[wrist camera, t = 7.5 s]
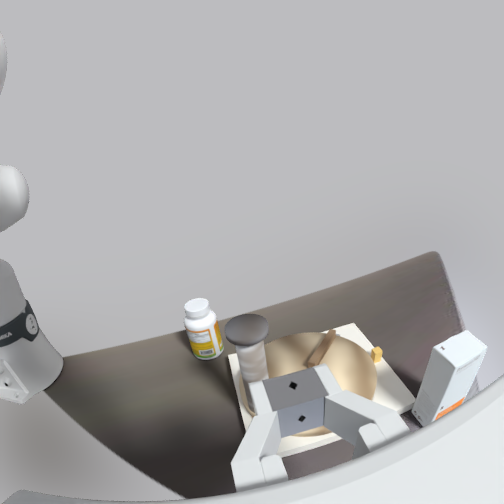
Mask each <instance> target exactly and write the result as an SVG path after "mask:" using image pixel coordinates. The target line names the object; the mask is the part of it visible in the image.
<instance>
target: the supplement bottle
mask: <svg viewBox="0 0 504 504" xmlns="http://www.w3.org/2000/svg"><path fill="white" fill-rule="evenodd" d="M184 309H185V313H186V317H185V319H184V324H185V328H186V331H187V334H188V338H189V341H190V344H191V347H192V350H193V353H194V355H195V356H196V357H197V358H199V359H202V360H210V359H214V358H216V357H218V356H219V355H220V354H221V353H222V351H223V343H222V339H221V334H220V330H219V326H218V322H217V318H216V315H215V313H214V312H213V311H212V310H210V306H209V302H208V301H207V300H206V299H203V298H196V299H193V300H190V301H189V302H187V303H186V304H185V306H184Z"/></svg>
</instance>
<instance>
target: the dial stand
mask: <svg viewBox="0 0 504 504" xmlns="http://www.w3.org/2000/svg"><path fill="white" fill-rule="evenodd" d="M333 330H336V335H337V336H341V337H344V338H346V339H349V340H351V341H353V342H355V343H356V344H358V345H359V346H361V347H362V348H363V349H364V350H365V351H366V352H367V353H368V354H369V355H370V357H371V358H372V360H373V362H374V364H375V367H376V371H377V384H376V389H375V393H374V397H373V399H372V401H373V402H376V403H378V404H381V405H383V406H385V407H388V408H390V409H393V410H395V411H397V413H398V414H399V415H400V414H402V413H404V412H406V411H408V410H410V409H412V408H413V406H414V403H415V400H416V399H415V397H414V396H413V395H412V394H411V392H410V391H409V390H408V389H407V387H406V386H405V385H404V384H403V382H402V381H401V380H400V379H399V377H398V376H397V375H396V374H395V372H394V371H393V370H392V369H391V368H390V366H389V365H388V364H387V363H386V361H385V360H384V359H383V358H382V350H381V349H380V348H379V347H376V348H374V347H373V346H372V344H371V343H370V342H369V341H368V340H367V338H366V337H365V336H364V335H363V334H362V332H361V331H360V330H359V329H358V328H357V326H356V325H355V324H354V323H352V324H348V325H345V326H342V327H338V328H335V329H333ZM328 331H329V330H328ZM328 331H324V332H321V333H328ZM228 357H229V362H230V366H231V371H232V375H233V379H234V384H235V388H236V392H237V397H238V401H239V405H240V409H241V414H242V418H243V422H244V426H245V430H246V431H247V429H248V427H249V425H250V423H251V421H252V419H253V417H252V416H251V415H250V414H249V413H248V411H247V410H246V408H245V406H244V404H243V401H242V398H241V394H240V388H239V378H240V374H241V371H240V366H239V362H238V357H237V353H236V354H231V355H228ZM340 439H343V438H341V437H339V436H338V435H336V434H335V433H333V432H332V433H329V434H325V435H320V436H313V437H298V436H287V437H284V438H281V442H280V445H279V448H278V451H277V454H276V455H279V456H281V458H282V457H286V456H289V455H293V454H296V453H300V452H303V451H307V450H310V449H313V448H316V447H319V446H322V445H325V444H328V443H331V442H334V441H337V440H340Z"/></svg>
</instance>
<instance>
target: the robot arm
mask: <svg viewBox="0 0 504 504" xmlns="http://www.w3.org/2000/svg"><path fill="white" fill-rule="evenodd" d="M6 70H7V52H6V46H5V42H4V39H3V36H2V34H1V32H0V94H1V91H2V88H3V85H4V81H5V76H6ZM28 203H29V189H28V184H27V182H26V179H25V177H24V176H23V174H22V173H21V172H20V171H19V170H18V169H17V168H15V167H13V166H7V165H1V164H0V232H2V231H4V230H5V229H7V228H8V227H10V226H11V225H13V224H14V223H16V222H17V221H19V220H20V219H21V218H23V217H24V216H25V213H26V211H27V208H28ZM62 367H63V358H62V356H61V355H60V354H59V353H58V352H57V351H56V350H55V349H54V347H53V346H52V345H51V344H50V342H49V341H48V340H47V339H46V337H45V335H44V334H43V333H42V331H41V330H40V328H39V326H38V323H37V320H36V317H35V315H34V313H33V310H32V308H31V306H30V304H29V302H28V301H27V300H26V299H25V298H24V296H23V293H22V291H21V288H20V286H19V283H18V281H17V278H16V276H15V273H14V270H13V268H12V267H11V266H10V264H9V263H7V262H6V261H4V260H2V259H0V399H2V400H6V401H10V402H14V403H17V404H24V403H26V402H27V401H28V400H29V399H30V398H31V397H32V396H34V395H35V394H37V393H39V392H41V391H42V390H44V389H46V388H47V387H48V386H50V385H51V384H52V383H53V382H54V381H55V380H56V378H57V377H58V376H59V374H60V372H61V370H62ZM249 389H250V394H251V398H252V403H253V407H254V411H255V415H256V416H254V417H253V419H252V421H251V423H250V425H249V427H248V429H247V431H246V433H245V436H244V438H243V440H242V442H241V444H240V446H239V448H238V450H237V452H236V454H235V456H234V458H233V460H232V462H231V466H232V471H233V477H234V481H235V486H236V491H237V493H231V494H225V495H218V496H211V497H203V498H194V499H184V500H170V501H148V502H147V501H146V502H125V501H123V502H122V501H101V500H88V499H77V498H69V497H61V496H55V495H48V494H43V493H38V492H33V491H27V490H19V491H17V492H15V493H14V494H13V495H11V496H10V497H9V498H8V499H7V500H5V501H4V502H3V503H2V504H504V374H503V375H502V376H501V377H499V378H498V379H497V380H495V381H494V382H493V383H491V384H490V385H489V386H487V387H486V388H484V389H483V390H482V391H480V392H479V393H477V394H476V395H474V396H473V397H472V398H470V399H469V400H467V401H466V402H464V403H463V404H461V405H459V406H458V407H456V408H455V409H453V410H452V411H450V412H448V413H447V414H445V415H443V416H442V417H440V418H438V419H437V420H435V421H433V422H431V423H429V424H428V425H426V426H424V427H422V428H420V429H419V430H417V431H415V432H413V433H412V432H411V431H410V429H409V428H408V427H407V425H406V424H405V422H404V421H403V420H402V418H401V417H400V415H399V414H398V413H397V411H395V410H393V409H390V408H388V407H385V406H383V405H381V404H378V403H376V402H373V401H371V400H369V399H366V398H364V397H362V396H359V395H357V394H355V393H353V392H350V391H348V390H344V391H343V390H342V389H341V387H340V385H339V384H338V382H337V381H336V379H335V377H334V376H333V374H332V372H331V371H330V369H329V367H328V366H327V364H325V363H323V364H320V365H317V366H314V367H310V368H307V369H304V370H300V371H297V372H293V373H290V374H287V375H283V376H279V377H274V378H270V379H265V380H262V381H257V382H252V383H249ZM321 426H324V427H325V428H327V429H328V430H330V431H332V432H333V433H335V434H336V435H338V436H339V437H341V438H343V439H344V440H346V441H347V442H349V443H351V444H352V445H354V446H355V449H354V453H353V457H352V460H351V461H348V462H346V463H343V464H340V465H337V466H335V467H332V468H329V469H326V470H323V471H320V472H317V473H314V474H311V475H307V476H304V477H301V478H297V479H294V480H290V481H289V478H288V476H287V473H286V470H285V467H284V464H283V462H282V459H281V456H279V455H276V454H277V451H278V448H279V445H280V442H281V438H284V437H287V436H290V435H294V434H297V433H300V432H303V431H307V430H311V429H314V428H317V427H321Z"/></svg>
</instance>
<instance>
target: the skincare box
mask: <svg viewBox="0 0 504 504" xmlns="http://www.w3.org/2000/svg"><path fill="white" fill-rule="evenodd" d="M486 350H487V346H486V345H485V344H483V343H482V342H481V341H480V340H479V339H477V338H476V337H475V336H474V335H473V334H471V333H470V332H469V331H468V330H465V331H463V332H461V333H459V334H458V335H455V336H452V337H450V338H449V339H447V340H446V341H444V342H442V343H440V344H438V345H436V346H434V347H433V349H432V352H431V356H430V359H429V362H428V366H427V369H426V372H425V375H424V378H423V381H422V384H421V387H420V390H419V392H418V395H417V398H416V400H415V403H414V406H413V408H412V411H411V412H412V413H413V415H414V416H415V417H416V419H417V420H418V421H419V422H420V424H421V425H422V426H423V427H424V426H426V425H428V424H429V423H431V422H433V421H435V420H437V419H438V418H440V417H442V416H443V415H445V414H447V413H448V412H450V411H452V410H453V409H455V408H456V407H458V406H459V405H461V404H462V403H463V401H464V399H465V397H466V396H467V393H468V391H469V389H470V387H471V385H472V383H473V381H474V379H475V376H476V374H477V372H478V370H479V367H480V364H481V362H482V360H483V357H484V355H485V352H486Z"/></svg>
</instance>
